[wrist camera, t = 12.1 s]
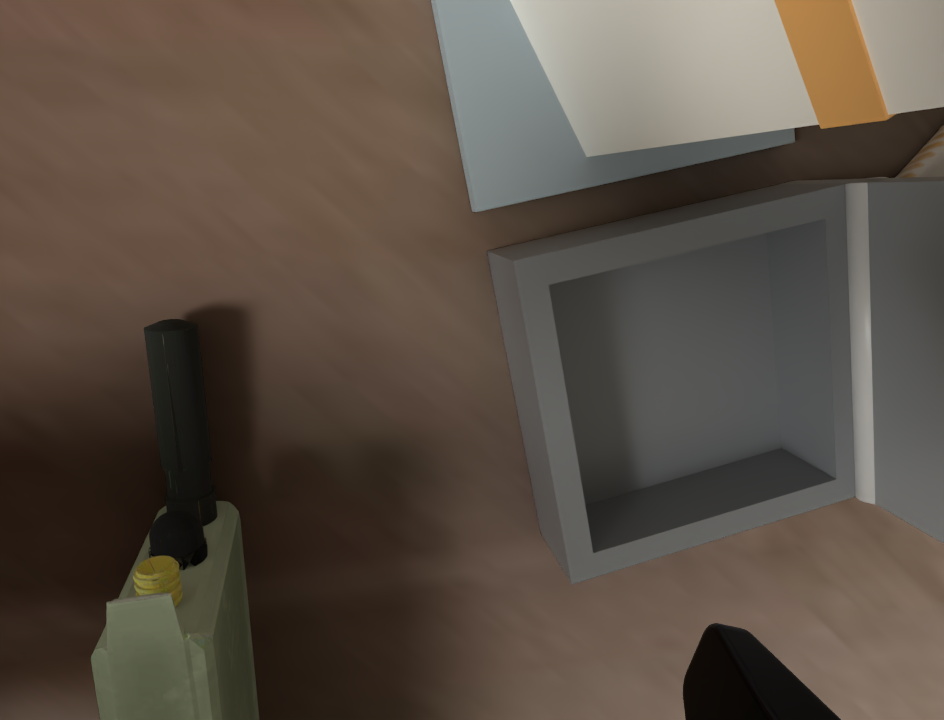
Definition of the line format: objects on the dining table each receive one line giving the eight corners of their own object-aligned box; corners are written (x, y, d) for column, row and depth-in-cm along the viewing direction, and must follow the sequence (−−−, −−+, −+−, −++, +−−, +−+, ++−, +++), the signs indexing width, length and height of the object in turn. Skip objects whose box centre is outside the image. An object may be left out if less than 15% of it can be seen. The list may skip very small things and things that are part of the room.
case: (540, 533, 22) (808, 974, 10) (486, 251, 19) (762, 356, 7) (815, 452, 23) (1355, 743, 11) (801, 179, 21) (1496, 159, 8)
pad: (472, 211, 19) (476, 212, 18) (410, -106, 17) (413, -116, 16) (782, 143, 20) (795, 142, 20) (764, -157, 18) (778, -168, 17)
